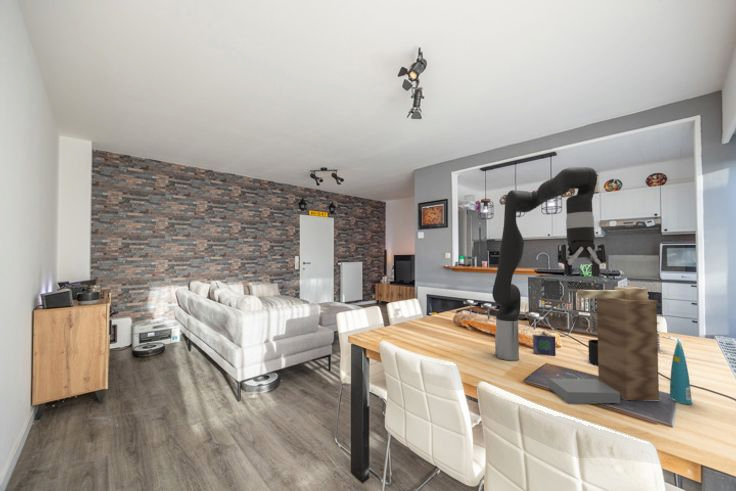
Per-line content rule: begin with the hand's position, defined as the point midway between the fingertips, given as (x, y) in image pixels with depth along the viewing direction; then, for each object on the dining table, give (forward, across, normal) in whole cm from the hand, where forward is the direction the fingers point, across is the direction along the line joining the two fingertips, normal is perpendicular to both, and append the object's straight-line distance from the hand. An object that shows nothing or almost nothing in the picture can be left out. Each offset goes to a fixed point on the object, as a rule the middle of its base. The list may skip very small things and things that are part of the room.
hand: (582, 276), depth 96 cm
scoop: (+8, +13, +5) cm, 16 cm away
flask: (+39, +12, +43) cm, 60 cm away
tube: (+40, +30, 0) cm, 50 cm away
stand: (+40, +17, +6) cm, 44 cm away
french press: (+40, +66, +48) cm, 91 cm away
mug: (+40, +31, +31) cm, 59 cm away
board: (+40, 0, +3) cm, 40 cm away
